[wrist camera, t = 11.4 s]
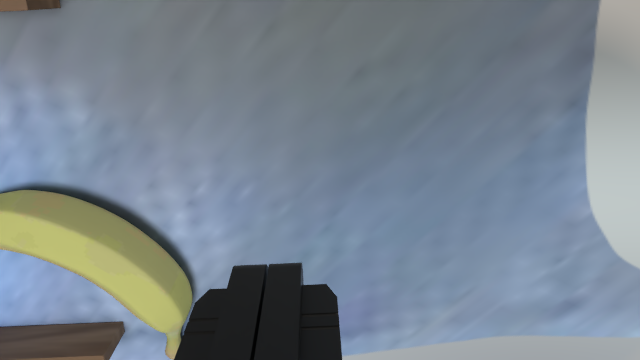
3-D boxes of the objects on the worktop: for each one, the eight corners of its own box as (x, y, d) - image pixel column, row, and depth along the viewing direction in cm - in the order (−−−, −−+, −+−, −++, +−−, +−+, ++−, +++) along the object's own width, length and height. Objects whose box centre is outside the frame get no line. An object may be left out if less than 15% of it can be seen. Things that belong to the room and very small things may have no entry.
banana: (34, 178, 34) (220, 366, 42) (79, 136, 38) (239, 313, 47) (-81, 246, 39) (104, 401, 47) (-30, 202, 44) (131, 351, 52)
